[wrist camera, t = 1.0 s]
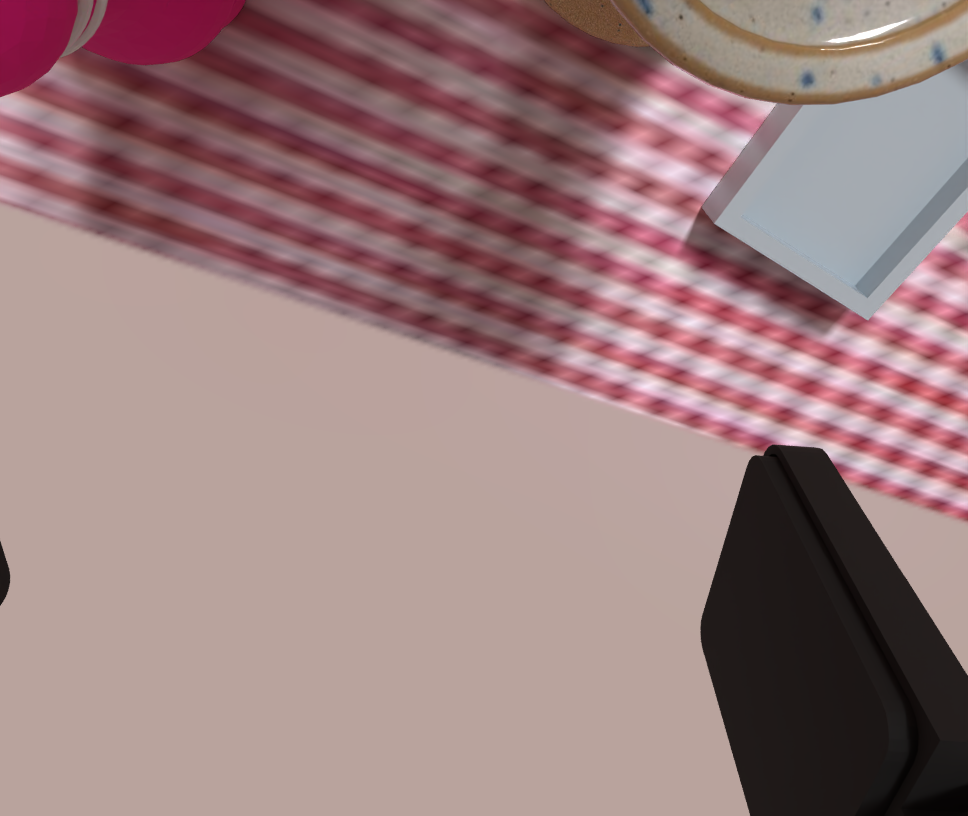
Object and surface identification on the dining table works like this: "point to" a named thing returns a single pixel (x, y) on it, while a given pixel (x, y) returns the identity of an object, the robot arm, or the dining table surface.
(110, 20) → the pepper mill
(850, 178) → the dish
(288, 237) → the dining table surface
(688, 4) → the candle holder
